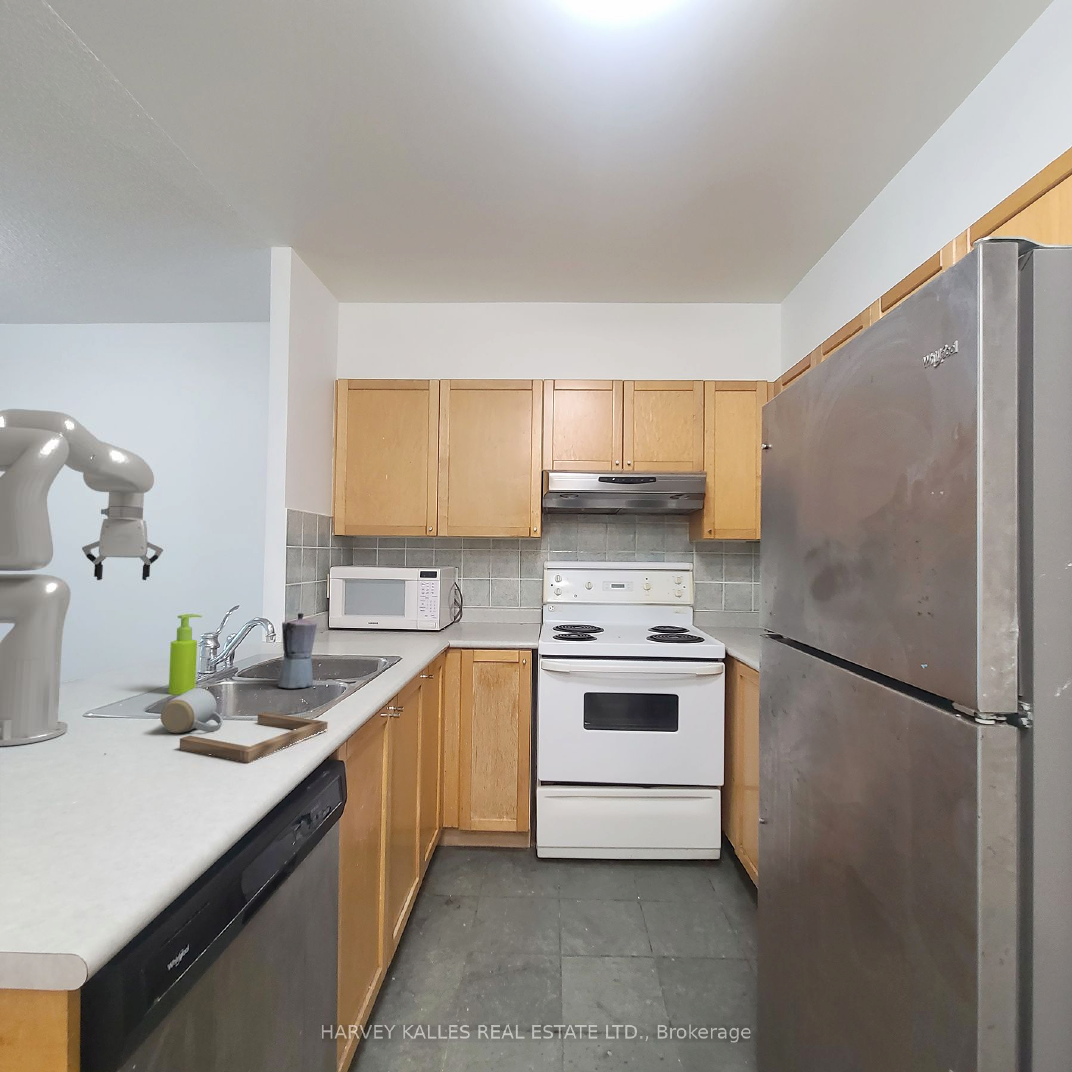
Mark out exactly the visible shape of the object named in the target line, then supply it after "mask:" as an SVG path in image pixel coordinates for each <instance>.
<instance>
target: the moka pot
mask: <svg viewBox="0 0 1072 1072" xmlns="http://www.w3.org/2000/svg"><path fill="white" fill-rule="evenodd" d="M303 618H304V613H302V612H300V613H297V619H293V620H289V621H284V622H282V624H281V626H282V627H281V628H282V645H283V646H282V648H283V660H282V663H281V668H280V671H279V673H280V674H279V678H278V682H277V686H278V687H279V688H281V689H282V688H284V689H299V688H300V689H302V688H308V687H311V686H313V685H314V678H313V666H312V665H313V664H312V661H313V660H312V658H311V657H312V652H313V648H314V642H315V637H316V632H317V631H316V630H317V625H318V623H317V622H314V621H311V620H306V619H303Z"/></svg>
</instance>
